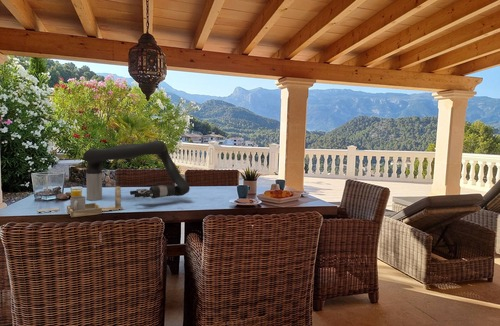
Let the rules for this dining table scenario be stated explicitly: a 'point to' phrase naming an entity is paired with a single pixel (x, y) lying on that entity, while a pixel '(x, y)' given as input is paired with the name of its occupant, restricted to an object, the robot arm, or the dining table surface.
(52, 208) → the broken strip
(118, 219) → the dining table surface
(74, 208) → the cup
